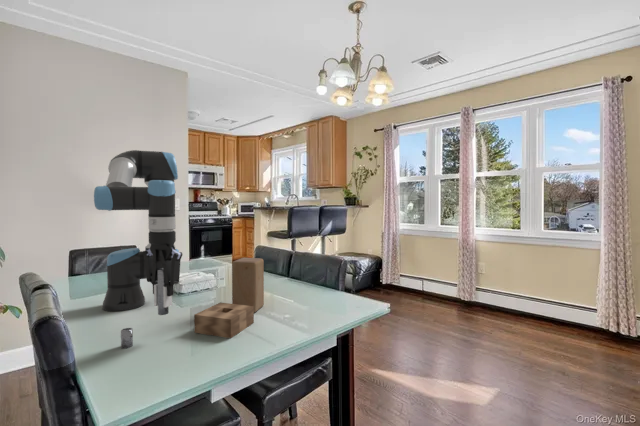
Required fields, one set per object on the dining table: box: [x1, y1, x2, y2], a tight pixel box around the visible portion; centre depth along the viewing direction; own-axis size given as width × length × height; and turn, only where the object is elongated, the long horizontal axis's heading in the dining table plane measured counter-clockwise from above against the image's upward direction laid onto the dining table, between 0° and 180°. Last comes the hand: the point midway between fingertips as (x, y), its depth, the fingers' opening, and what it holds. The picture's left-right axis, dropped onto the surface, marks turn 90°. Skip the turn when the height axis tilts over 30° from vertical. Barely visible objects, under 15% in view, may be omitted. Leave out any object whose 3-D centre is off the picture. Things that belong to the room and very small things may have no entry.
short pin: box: [120, 327, 134, 350], centre depth 98 cm, size 3×3×5 cm
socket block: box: [193, 302, 255, 339], centre depth 113 cm, size 14×14×6 cm
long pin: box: [157, 268, 170, 316], centre depth 102 cm, size 3×3×14 cm
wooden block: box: [231, 257, 265, 313], centre depth 133 cm, size 10×10×20 cm
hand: (163, 305), depth 103 cm, fingers closed on long pin, 3 cm apart
